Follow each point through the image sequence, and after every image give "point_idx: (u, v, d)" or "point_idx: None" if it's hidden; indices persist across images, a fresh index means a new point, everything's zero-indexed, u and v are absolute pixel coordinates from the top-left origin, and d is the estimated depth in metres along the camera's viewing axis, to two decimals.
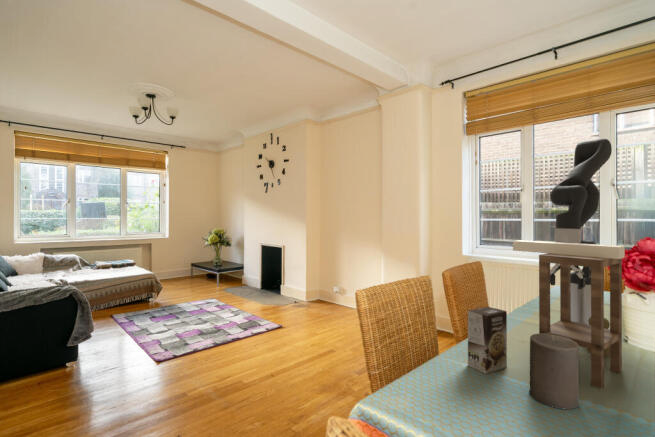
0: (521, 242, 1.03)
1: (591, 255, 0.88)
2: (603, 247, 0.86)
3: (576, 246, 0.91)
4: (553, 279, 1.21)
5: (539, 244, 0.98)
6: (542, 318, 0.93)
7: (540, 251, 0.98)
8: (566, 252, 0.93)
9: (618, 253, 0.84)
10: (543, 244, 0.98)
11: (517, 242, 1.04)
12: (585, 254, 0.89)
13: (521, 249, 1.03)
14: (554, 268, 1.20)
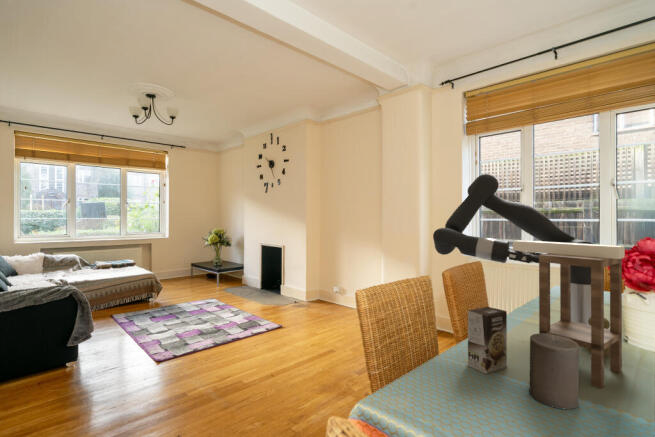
0: (521, 242, 1.03)
1: (591, 255, 0.88)
2: (603, 247, 0.86)
3: (576, 246, 0.91)
4: None
5: (539, 244, 0.98)
6: (542, 318, 0.93)
7: (540, 251, 0.98)
8: (566, 252, 0.93)
9: (618, 253, 0.84)
10: (543, 244, 0.98)
11: (517, 242, 1.04)
12: (585, 254, 0.89)
13: (521, 249, 1.03)
14: None
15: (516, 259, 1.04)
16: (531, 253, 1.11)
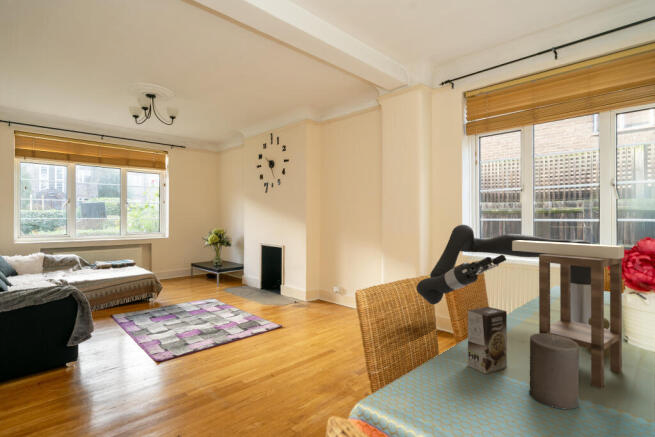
0: (520, 242, 1.03)
1: (591, 255, 0.88)
2: (603, 247, 0.86)
3: (576, 246, 0.91)
4: (499, 260, 1.15)
5: (538, 244, 0.98)
6: (542, 318, 0.93)
7: (540, 251, 0.98)
8: (566, 252, 0.93)
9: (617, 253, 0.84)
10: (542, 244, 0.98)
11: (516, 242, 1.04)
12: (585, 254, 0.89)
13: (520, 249, 1.03)
14: None
15: (467, 272, 1.13)
16: (492, 261, 1.17)
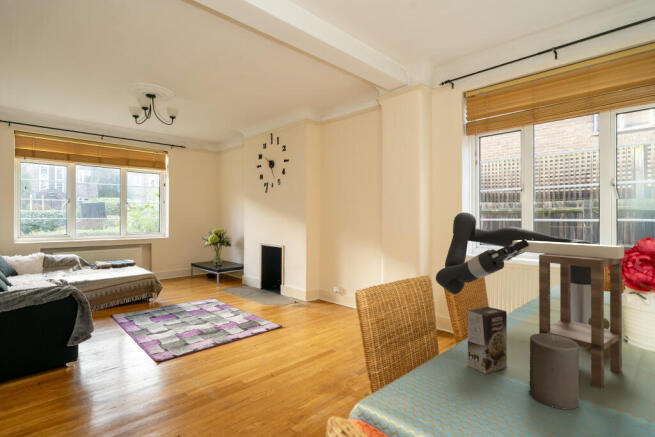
0: None
1: (591, 255, 0.88)
2: (603, 247, 0.86)
3: (576, 246, 0.91)
4: None
5: (539, 244, 0.99)
6: (542, 318, 0.93)
7: (540, 251, 0.98)
8: (566, 252, 0.93)
9: (618, 253, 0.84)
10: (543, 244, 0.98)
11: (517, 242, 1.04)
12: (585, 254, 0.89)
13: None
14: None
15: (500, 256, 1.04)
16: None
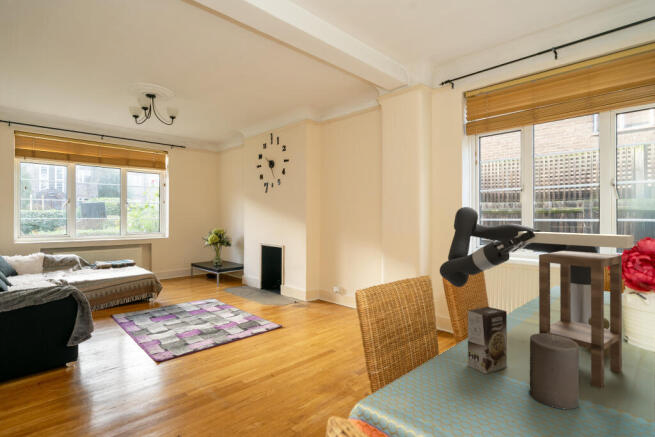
0: None
1: (599, 245, 0.87)
2: (611, 236, 0.84)
3: (583, 236, 0.89)
4: None
5: (545, 235, 0.97)
6: (542, 318, 0.93)
7: (546, 242, 0.97)
8: (573, 242, 0.91)
9: (626, 242, 0.82)
10: (549, 235, 0.96)
11: (523, 233, 1.02)
12: (592, 244, 0.88)
13: None
14: (523, 246, 1.06)
15: (505, 247, 1.03)
16: None
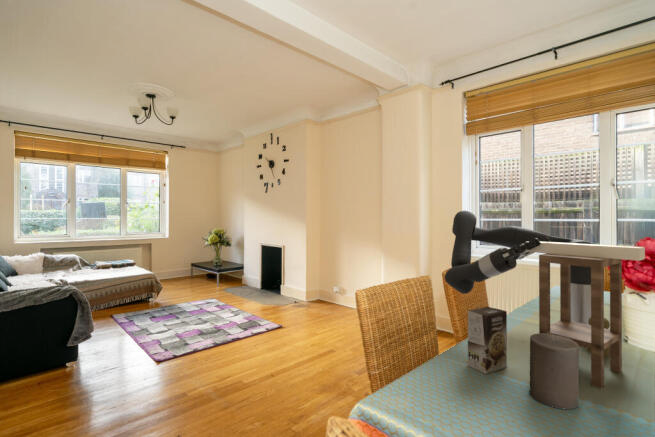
0: None
1: (609, 256, 0.85)
2: (622, 248, 0.83)
3: (593, 247, 0.88)
4: None
5: (554, 245, 0.95)
6: (542, 318, 0.93)
7: (555, 253, 0.95)
8: (583, 253, 0.90)
9: (639, 254, 0.80)
10: (558, 245, 0.94)
11: None
12: (603, 255, 0.86)
13: (534, 250, 1.00)
14: (531, 253, 1.05)
15: (510, 255, 1.01)
16: None
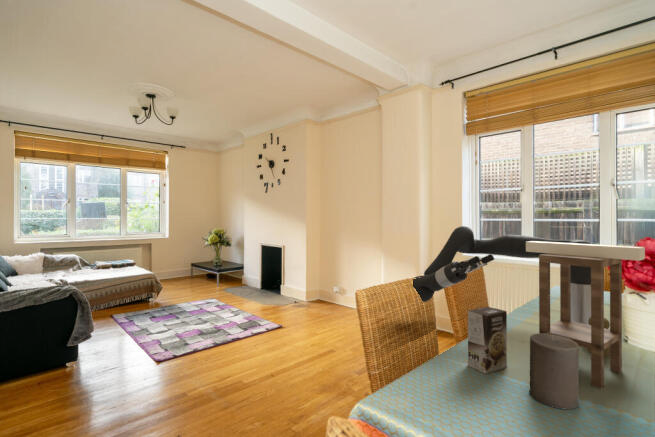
0: (535, 243, 0.99)
1: (609, 256, 0.85)
2: (622, 248, 0.83)
3: (593, 247, 0.88)
4: (487, 260, 1.18)
5: (554, 245, 0.95)
6: (542, 318, 0.93)
7: (555, 253, 0.95)
8: (583, 253, 0.90)
9: (639, 254, 0.80)
10: (558, 245, 0.94)
11: (530, 243, 1.00)
12: (603, 255, 0.86)
13: (534, 250, 1.00)
14: (478, 268, 1.20)
15: (456, 270, 1.16)
16: (480, 260, 1.21)
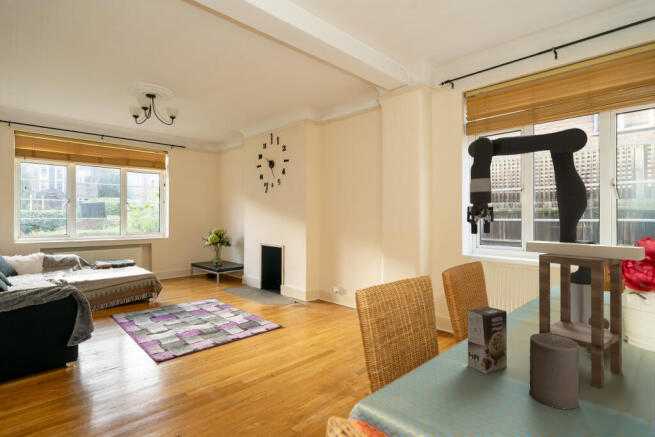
0: (535, 243, 0.99)
1: (609, 256, 0.85)
2: (622, 248, 0.83)
3: (593, 247, 0.88)
4: (485, 227, 1.29)
5: (554, 245, 0.95)
6: (542, 318, 0.93)
7: (555, 253, 0.95)
8: (583, 253, 0.90)
9: (639, 254, 0.80)
10: (558, 245, 0.94)
11: (530, 243, 1.00)
12: (603, 255, 0.86)
13: (534, 250, 1.00)
14: None
15: (468, 212, 1.23)
16: (488, 220, 1.29)
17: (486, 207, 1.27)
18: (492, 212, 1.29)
